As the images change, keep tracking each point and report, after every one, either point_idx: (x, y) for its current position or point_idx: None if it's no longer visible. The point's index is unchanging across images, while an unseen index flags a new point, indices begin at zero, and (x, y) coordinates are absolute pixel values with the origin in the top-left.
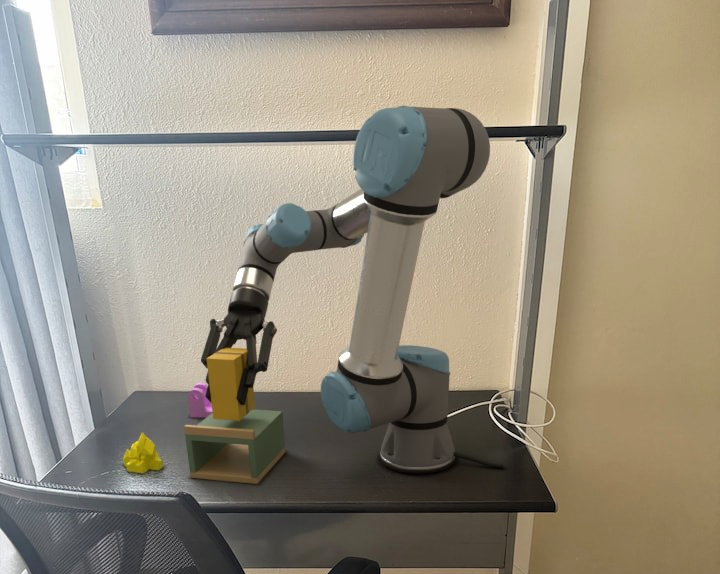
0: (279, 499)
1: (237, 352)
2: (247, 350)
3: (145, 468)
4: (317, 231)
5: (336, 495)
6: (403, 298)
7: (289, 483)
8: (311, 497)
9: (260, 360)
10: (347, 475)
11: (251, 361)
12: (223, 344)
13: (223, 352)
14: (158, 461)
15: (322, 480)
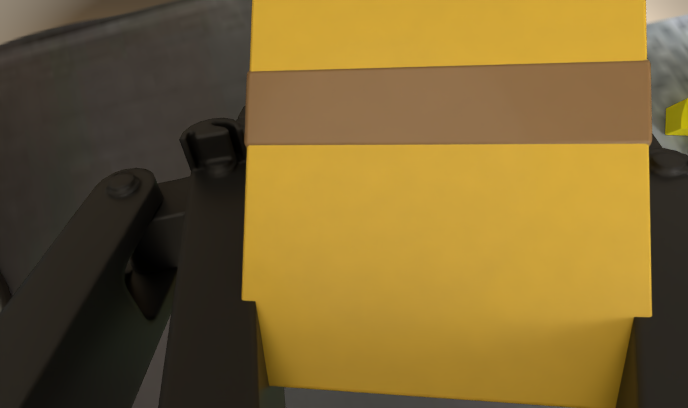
0: (221, 13)
1: (338, 174)
2: (243, 292)
3: None
4: None
5: (89, 69)
6: None
7: (223, 110)
8: (146, 44)
9: (115, 206)
10: (86, 193)
11: (211, 196)
12: (673, 394)
13: (532, 134)
14: (683, 107)
15: (142, 148)
